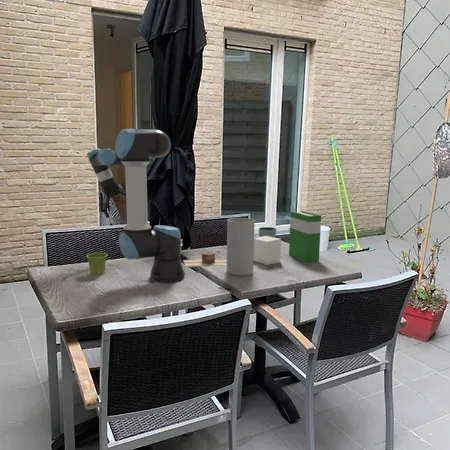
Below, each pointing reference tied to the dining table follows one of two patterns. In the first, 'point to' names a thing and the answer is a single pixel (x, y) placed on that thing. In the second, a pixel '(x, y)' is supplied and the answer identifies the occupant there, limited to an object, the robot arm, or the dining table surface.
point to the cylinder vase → (240, 246)
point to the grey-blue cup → (267, 231)
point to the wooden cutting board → (199, 263)
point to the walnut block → (208, 257)
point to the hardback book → (305, 236)
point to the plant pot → (97, 263)
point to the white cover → (267, 250)
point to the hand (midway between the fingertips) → (124, 217)
